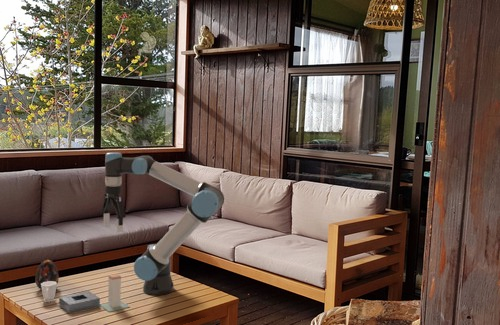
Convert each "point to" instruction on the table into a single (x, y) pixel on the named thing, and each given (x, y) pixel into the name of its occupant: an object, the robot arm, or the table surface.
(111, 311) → the mat
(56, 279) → the egg
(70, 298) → the grey square holder
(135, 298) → the table surface
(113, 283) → the plug
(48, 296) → the cup
